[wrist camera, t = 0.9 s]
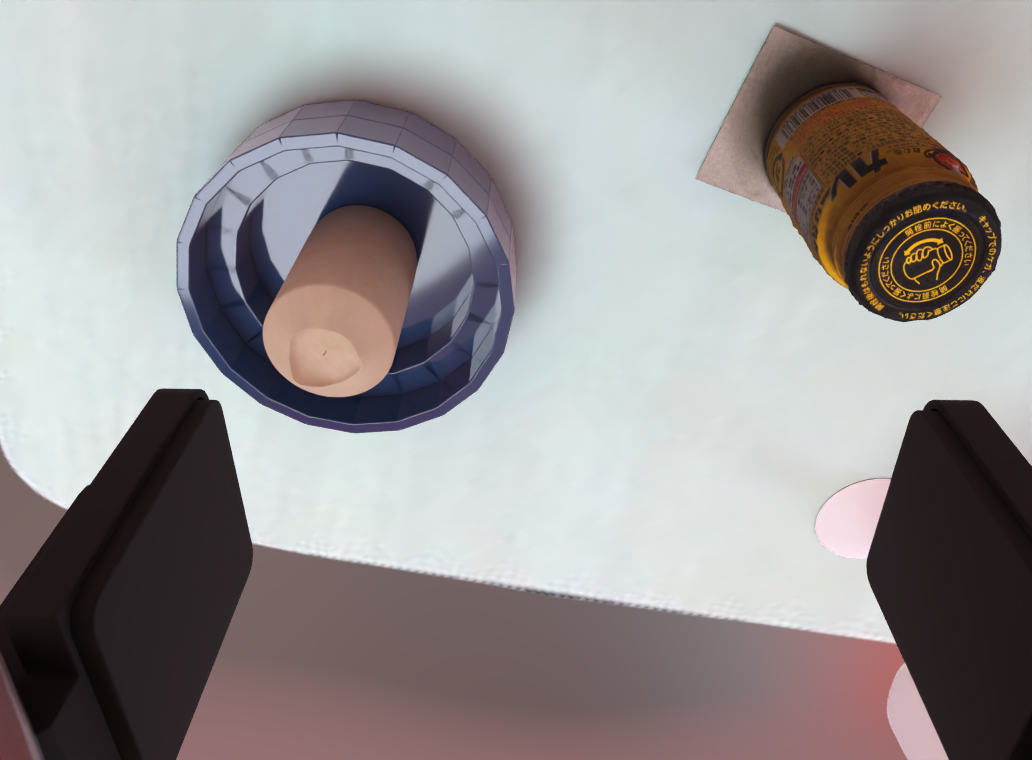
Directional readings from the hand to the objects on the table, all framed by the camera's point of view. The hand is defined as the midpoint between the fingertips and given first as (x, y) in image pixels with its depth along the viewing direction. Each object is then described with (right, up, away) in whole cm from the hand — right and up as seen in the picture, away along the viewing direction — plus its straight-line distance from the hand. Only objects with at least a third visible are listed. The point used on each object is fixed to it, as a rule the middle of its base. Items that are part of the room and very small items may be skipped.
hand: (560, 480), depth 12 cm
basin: (-8, +8, +31) cm, 33 cm away
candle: (-8, +8, +31) cm, 33 cm away
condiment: (+13, +13, +27) cm, 33 cm away
